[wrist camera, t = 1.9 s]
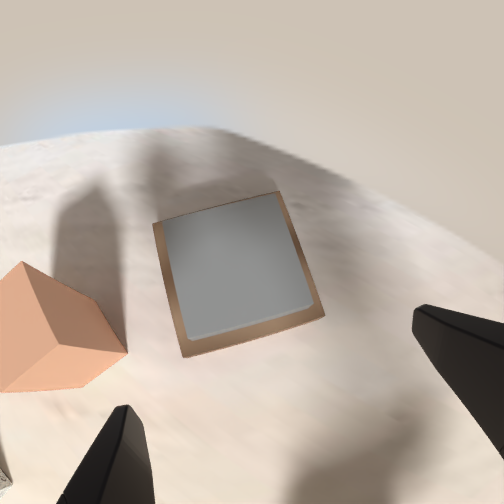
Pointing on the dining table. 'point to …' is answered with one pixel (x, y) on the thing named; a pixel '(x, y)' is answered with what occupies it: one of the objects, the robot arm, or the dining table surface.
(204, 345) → the tower base slab
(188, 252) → the tower top slab
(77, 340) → the terracotta block
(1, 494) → the skincare box
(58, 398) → the dining table surface
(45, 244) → the dining table surface
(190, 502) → the dining table surface
